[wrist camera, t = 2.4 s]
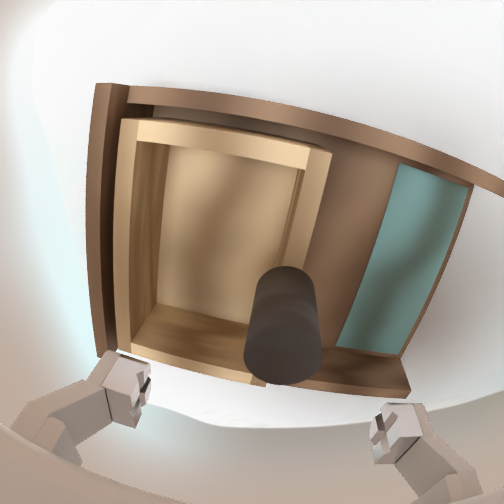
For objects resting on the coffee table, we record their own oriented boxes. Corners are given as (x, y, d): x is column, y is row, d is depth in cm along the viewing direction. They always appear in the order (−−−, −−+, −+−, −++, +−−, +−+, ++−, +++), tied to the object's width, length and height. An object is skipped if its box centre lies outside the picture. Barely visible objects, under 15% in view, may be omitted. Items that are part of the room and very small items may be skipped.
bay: (471, 168, 19) (527, 191, 12) (392, 359, 26) (411, 416, 20) (149, 90, 19) (95, 83, 13) (133, 306, 27) (97, 356, 20)
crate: (334, 148, 19) (387, 179, 9) (283, 334, 24) (276, 453, 14) (165, 117, 19) (56, 124, 9) (149, 303, 25) (85, 401, 15)
